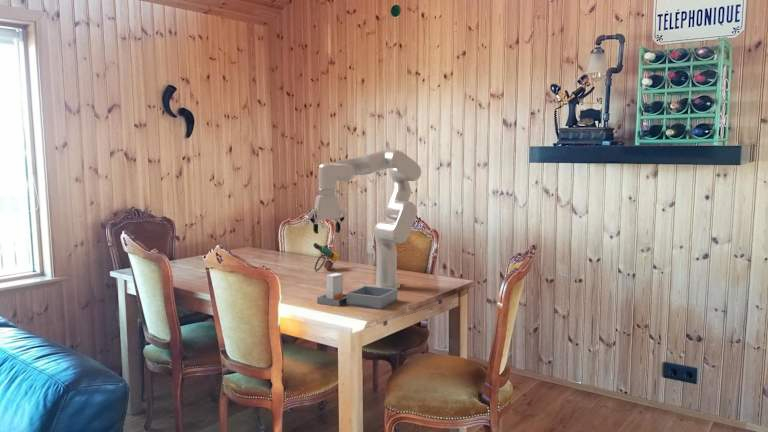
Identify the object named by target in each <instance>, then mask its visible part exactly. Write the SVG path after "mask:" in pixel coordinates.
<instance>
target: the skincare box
mask: <svg viewBox="0 0 768 432" xmlns="http://www.w3.org/2000/svg"><path fill="white" fill-rule="evenodd" d="M343 280H344V275H343V274H342V273H336V272H334V273H330V274H327V275H326V284H325V285H326V291H325V294H326V298H330V299H341V298H343V294H344V293H343V289H344V287H343V286H344V285H343V283H344V281H343Z"/></svg>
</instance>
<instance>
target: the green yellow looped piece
mask: <svg viewBox="0 0 768 432" xmlns="http://www.w3.org/2000/svg"><path fill="white" fill-rule="evenodd" d="M313 247H314V249H316V250H318V251H319V252H320V256H319V257H318V259H317V260H316V262H315V265H314V268H313V269H314V271H316V272H318V271H320V270H321V268H322V267H324V268H325V270H326V271H329V272H330V271H331V270H332V268H333V266H334V263H335V262H336V261H337V260H338V259H339V257H340V255H339V254H338V252H335V251H333V250H331V249H329V245H328V244H325V245H320V244H318V243H316V242H314V243H313ZM321 258H323V261H322V263H321V264H320V266H319V267H318V268H317V265H318V263H319V261H320V260H321ZM328 258H330V259H331V260H330V259H328Z"/></svg>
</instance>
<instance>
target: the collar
mask: <svg viewBox="0 0 768 432" xmlns="http://www.w3.org/2000/svg"><path fill="white" fill-rule="evenodd" d="M316 304H320V305H326V306H334V307H341V306H343V305H345V304H346V305H347V293H346V294H345V293H343V298H341V299H330V298H326V293H325V294H323V295H321V296H317V297H316Z"/></svg>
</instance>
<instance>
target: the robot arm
mask: <svg viewBox="0 0 768 432" xmlns="http://www.w3.org/2000/svg"><path fill="white" fill-rule="evenodd" d="M387 169H389V175H390V177H391V179H392V183H393V189H392V193H391V195H390V197H389V200H388V202H387V205H386V207H385V211H384V213H385V216H386V217H387V219H390V220H380V221H378V222H377V223H376V224H375V227H374V231H373V233H374V239H375V249H376V250H375V251H376V255H375V259H376V260H375V261H376V267H375V268H376V269H375V270H376V275H375V278H376V281H375V282H376V283H373V284H372V285H373V287H382V288H391V289H397V290H399V289H400V287H401V285H400V284H399V283H397V281H398V280H400V277H399V276H398V272H397V271H398V270H397V268H398V267H397V265H398V263H397V260H398V258H397V255H398V253H397V246H396V244H402V243H405V242H406V240H408V238H409V235H410V233H411V231H412V228H413V226H414V224H415V221H416V218H417V214H418V213H417V212H418V210H417V206H416V205H415V203H414V202H413V201H409V200H410V197H411V195H412V189H411V185H410V182H414V181H415V182H416V181H417V180H418V179H420V178H421V175H422V169H421V166H420V165H419V164H418V162H416V161H415V160H414V159H412V158H411V157H409V155H408V154H406V153H405V152H403V151H401V150H398V149H384V150H380V151H379V150H378V151H376V152H372V153H370V154H365V155H361V156H357V157H353V158H346V159H343V160H339V161H335V162H332V163H320V164H319V167H318V195H316V198H315V202H314V209H313V210H312V211H310V212H308V213H307V218H308V220H309V221H310V222H311V223H312V225H313V226H312V227H313V228H312V231H313V233H314V234H317V235H318V234H319V224H318V223H319V221H320V220H322V221H323V220H324V221H326V220H331V221H332V220H334V221H335V233H338V234H340V231H341V224H342V222H343V221H344V220H345V218H346V217H347V216H346V215H347V212H345V211H343V210H341V209H340V203H339V198H338V196H337V194H339V193H340V190H338V189H337V181H339V182H348V181H351V180H353V178H354V177H355V176H361V175H362V176H363V175H370V174H374V173H376V172H380V171H383V170H387ZM340 214H341V217H340ZM313 216H314V218H313ZM391 220H393V221H391Z"/></svg>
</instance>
